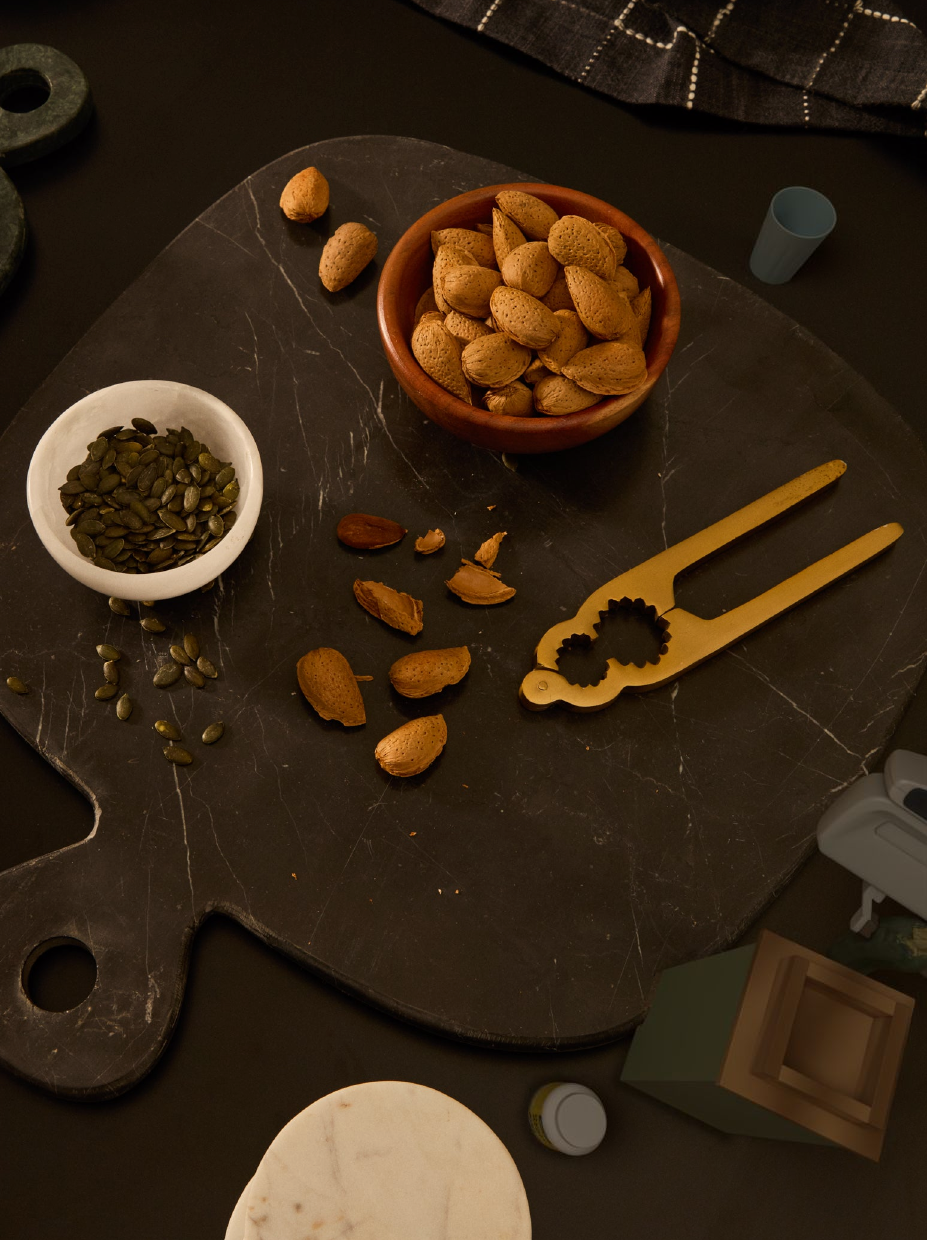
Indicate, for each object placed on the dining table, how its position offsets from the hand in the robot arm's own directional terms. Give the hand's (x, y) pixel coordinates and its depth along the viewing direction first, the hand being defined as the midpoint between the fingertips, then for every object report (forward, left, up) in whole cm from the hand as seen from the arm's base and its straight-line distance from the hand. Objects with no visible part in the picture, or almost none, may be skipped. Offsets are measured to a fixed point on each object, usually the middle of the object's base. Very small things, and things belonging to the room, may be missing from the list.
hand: (890, 952), depth 93 cm
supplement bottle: (+17, +21, -17) cm, 32 cm away
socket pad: (+8, +11, +11) cm, 18 cm away
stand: (+8, +11, -17) cm, 22 cm away
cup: (+26, -78, -17) cm, 84 cm away
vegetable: (0, -1, -12) cm, 12 cm away
